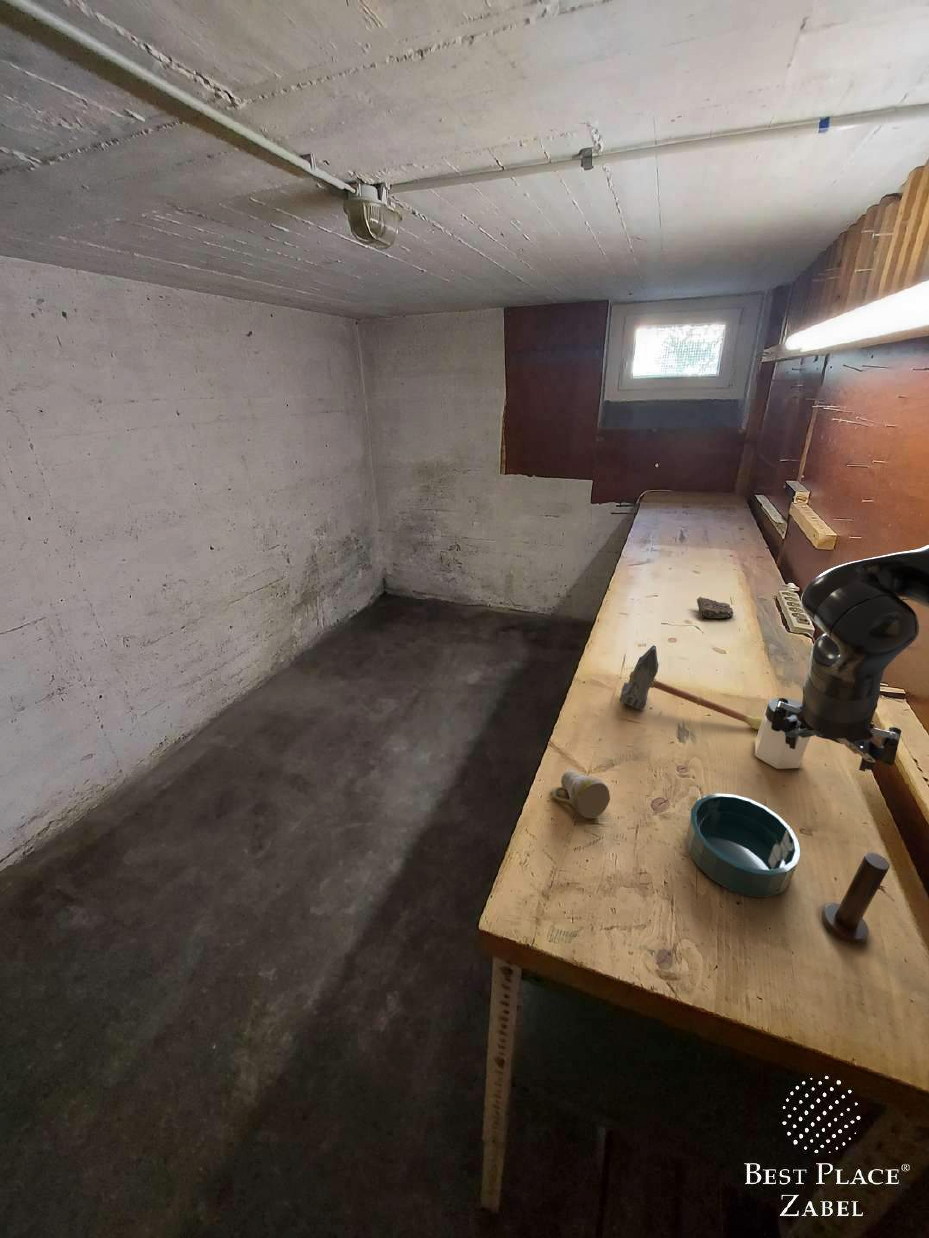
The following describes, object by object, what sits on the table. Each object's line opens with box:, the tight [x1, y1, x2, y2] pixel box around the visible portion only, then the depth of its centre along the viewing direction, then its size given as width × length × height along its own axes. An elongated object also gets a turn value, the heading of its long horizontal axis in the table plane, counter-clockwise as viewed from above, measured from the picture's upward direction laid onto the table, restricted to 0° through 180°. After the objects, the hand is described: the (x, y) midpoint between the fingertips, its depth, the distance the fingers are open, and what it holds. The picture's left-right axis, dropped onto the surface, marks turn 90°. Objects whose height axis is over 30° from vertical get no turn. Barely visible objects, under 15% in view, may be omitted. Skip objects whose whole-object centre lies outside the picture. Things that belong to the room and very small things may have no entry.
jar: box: [754, 697, 811, 770], centre depth 99 cm, size 9×8×12 cm
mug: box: [552, 769, 611, 819], centre depth 90 cm, size 8×10×10 cm
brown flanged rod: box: [821, 852, 890, 945], centre depth 67 cm, size 5×5×14 cm
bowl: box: [684, 792, 802, 898], centre depth 79 cm, size 16×16×6 cm
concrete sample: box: [696, 596, 734, 619], centre depth 161 cm, size 12×10×5 cm
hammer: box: [619, 644, 763, 731], centre depth 112 cm, size 6×16×30 cm
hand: (827, 754), depth 73 cm, fingers open, 8 cm apart
